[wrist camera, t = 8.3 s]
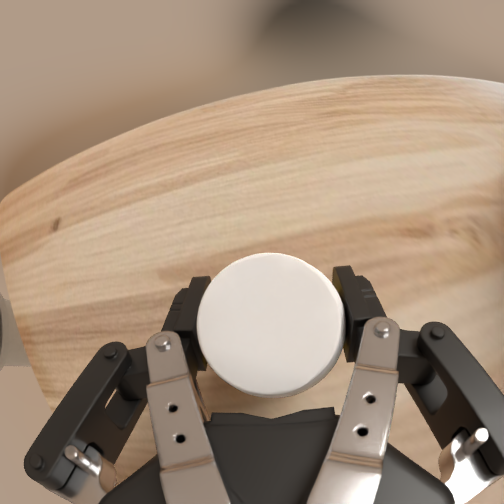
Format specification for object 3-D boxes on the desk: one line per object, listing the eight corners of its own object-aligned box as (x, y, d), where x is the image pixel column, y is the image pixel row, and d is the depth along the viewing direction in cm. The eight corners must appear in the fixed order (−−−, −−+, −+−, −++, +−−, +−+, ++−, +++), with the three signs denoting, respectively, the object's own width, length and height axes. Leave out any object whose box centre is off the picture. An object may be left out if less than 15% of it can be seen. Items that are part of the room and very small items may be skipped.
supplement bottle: (240, 279, 18) (194, 216, 9) (328, 291, 17) (377, 239, 8) (225, 366, 17) (159, 396, 7) (315, 380, 16) (352, 429, 6)
